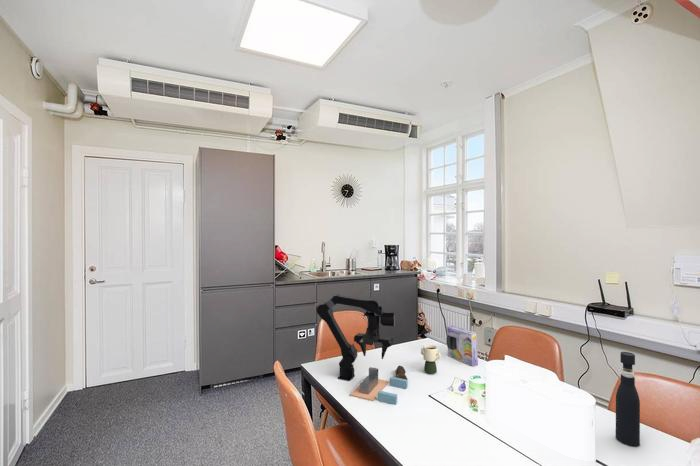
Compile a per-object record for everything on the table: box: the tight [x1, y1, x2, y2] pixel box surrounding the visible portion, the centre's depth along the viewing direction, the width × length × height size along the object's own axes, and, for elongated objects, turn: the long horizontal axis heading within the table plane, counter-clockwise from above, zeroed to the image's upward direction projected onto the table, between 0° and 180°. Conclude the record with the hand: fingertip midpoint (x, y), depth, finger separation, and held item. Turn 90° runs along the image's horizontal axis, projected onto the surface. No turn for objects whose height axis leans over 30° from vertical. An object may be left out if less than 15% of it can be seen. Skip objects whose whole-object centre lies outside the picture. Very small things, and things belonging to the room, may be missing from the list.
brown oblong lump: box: [395, 365, 408, 380], centre depth 164 cm, size 6×5×15 cm
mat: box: [349, 378, 390, 402], centre depth 152 cm, size 11×20×1 cm, turn 154°
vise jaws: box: [377, 376, 409, 406], centre depth 147 cm, size 8×18×4 cm, turn 154°
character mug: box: [420, 344, 441, 374], centre depth 170 cm, size 11×7×13 cm, turn 48°
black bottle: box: [615, 351, 641, 448], centre depth 114 cm, size 6×6×30 cm
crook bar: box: [359, 366, 379, 395], centre depth 152 cm, size 4×12×7 cm, turn 154°
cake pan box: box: [445, 324, 479, 367], centre depth 187 cm, size 19×5×18 cm, turn 28°
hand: (373, 357), depth 161 cm, fingers open, 9 cm apart
